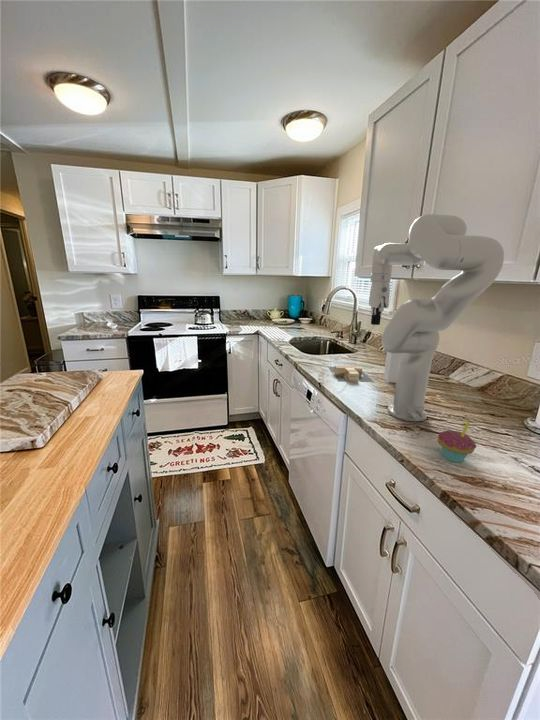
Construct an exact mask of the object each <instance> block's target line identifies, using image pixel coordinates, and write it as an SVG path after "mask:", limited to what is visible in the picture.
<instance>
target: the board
mask: <svg viewBox="0 0 540 720" xmlns="http://www.w3.org/2000/svg"><path fill="white" fill-rule="evenodd" d="M334 367H335V366H327V368H328V370H329V371H330V372H331V374H332V375H333V376H334V377H335V378H336V380H337V382H340V383H341V382H348V383H350V382H349V381H348V380H347V379H346V378H345V376H336V375H335V374H334ZM374 382H375V381H374V380H373V379H372V378H371V377H370V376H368V374H366V372H364V370H362V376H359V380H358V382H357V383H374Z"/></svg>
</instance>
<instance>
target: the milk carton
mask: <svg viewBox="0 0 540 720" xmlns="http://www.w3.org/2000/svg"><path fill="white" fill-rule="evenodd" d="M404 354H405V353H390V352H387V351H386V357H385V364H384V371H383V378H384V380H385V381H386V382H387V383H395V384H396V382H397V375H398V369H399V364H400V361H401V359H402V357H403V356H404Z"/></svg>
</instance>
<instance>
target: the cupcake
mask: <svg viewBox="0 0 540 720" xmlns="http://www.w3.org/2000/svg"><path fill="white" fill-rule="evenodd" d="M470 421H471V419H469V420H468V421H466V422H465V425H464V428H463V429H462V431H455V430H451V429H450V430H445V431H444V430H443V431H441V432H439V433H438V436H437V440H436V442H437V443H438V445H440V446H441V450H442V455H443V457H444V458H445V459H446V460H448V461H451V462H453V463H462V462H464V461H465V459H466V458H467V456H468V455H471V454H473V453H474V452H475V449H476V448H477V445H476V443H475V442H474V440H473V439H472V438H471V437H470V436H469V435H467V433H466V432H467V430H468V428H469V426H470V424H471V422H470Z"/></svg>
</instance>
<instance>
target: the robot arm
mask: <svg viewBox="0 0 540 720" xmlns="http://www.w3.org/2000/svg"><path fill="white" fill-rule="evenodd" d="M467 230H468V229H467V224H466V222H465V221H464V220H463V219H462V218H461V217H458V216H456V215H450V214H449V215H448V214H432V213H428V214H427V213H426V214H423V215H421V216H419V217H417V218H416V219H415V220H414V221H413V223H412V224H411V226H410V228H409V232H408V242H407V243H399V242H398V243H395V242H394V243H392V242H388V243H387V242H386V243H384V244H382V245H377V246H375V247H374V250H373V254H372V255H373V256H372V265H371V271H370V272H371V273H370V275H371V276H370V283H371V286H370V292H369V296H368V297H369V298H368V305H369V306H370V309H371V317H370V324H371V325H373V326H379V325H380V324H381V318H382V313H383V312H384V310H385V309H387V308H389V305H390V294H391V288H390V287H391V286H390V285H391V280H392V279H391V278H392V272H393V266H413V265H417V264H419V263H423V262H425V263H426V264H427V265H428V266H429V267H430V268H433V269H435V270H439V271H461V272H460V273H459V274H457V275H455V276H454V277H452V278H451V279H449V280H448V281H447V282H445V283H444V284H443V285H442V286H441V288H440V289H439V290H438V292H437V293H436V294H435V295H434V296H433V297H429V298H415V299H414V298H413V299H409V300H407V301H405V302H403V303H402V304H401V305H400V306H399V307H398V309H397V310H396V312H395V313H394V315H392V317H391V319H390V320H389V322H388V323H387V324H386V327H385V328H384V330H383V333H382V334H381V335H382V336H381V346H382V348H383V350H385V351H386V353H387V352H390V353H405V354H404V356H403V357H402V359H401V361H400V364H399V369H398V375H397V382H396V383H395V389H394V390H395V391H394V396H393V402H392V403H391V404H389V405H388V406H387V412H388V413H389V414H390V415H391V416H393V417H394V418H397V419H399V420H404V421H408V422H423V421H426V419H428V418H427V417H428V413H427V411H426V410H424V405H425V400H426V395H427V389H428V383H429V378H430V373H431V367H432V363H433V360H434V359H433V358H434V356H435V353H436V351H437V348H438V346H439V342H440V332H441V331H445V330H447V329H448V328H449V327H451V325H452V324H454V322H455V321H456V320H457V319H458V318H459V317H460V316H461V315H462V314H463V313H464V311H466V310H467V308H468V307H469V306H470V305H471V304H472V303H474V301H475V300H476V299H477V298H478V297H479V296H480V295H481V294H482V293H484V292H485V291H486V290H487V289H488V288H489V287H490V286H491V285H492V284H493V283H494V282H495V280H496V279H497V278H498V276H499V274H500V272H501V271H502V268H503V265H504V261H505V260H504V259H505V250H504V247H503V245H502V244H501V242H500V241H499V240H496V239H495V238H492V237H488V236H482V235H469V234H467ZM466 234H467V235H466Z"/></svg>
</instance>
